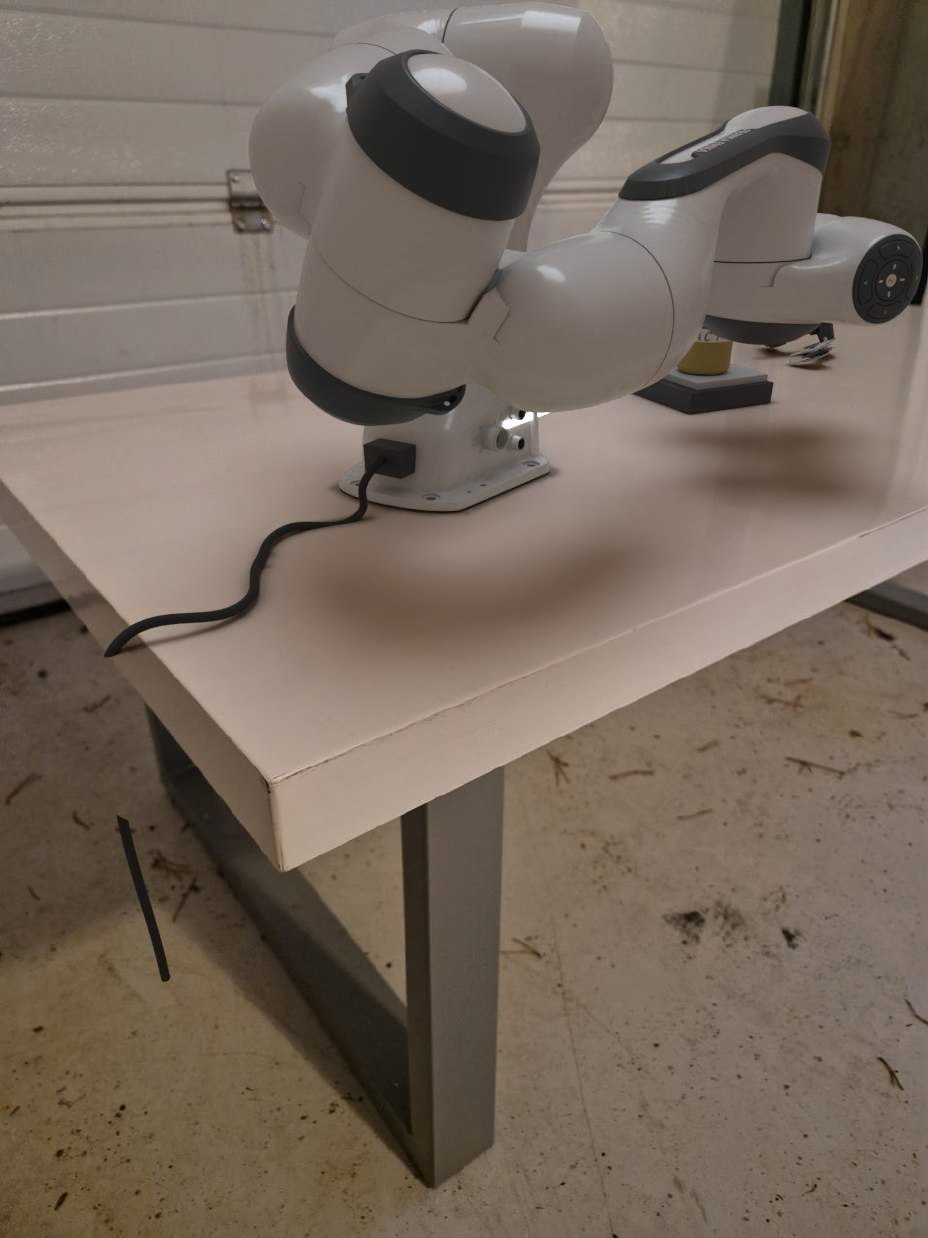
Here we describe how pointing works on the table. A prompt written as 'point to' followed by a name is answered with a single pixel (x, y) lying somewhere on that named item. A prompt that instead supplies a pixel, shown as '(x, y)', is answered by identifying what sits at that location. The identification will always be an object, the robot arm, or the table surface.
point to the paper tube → (707, 355)
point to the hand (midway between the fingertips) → (744, 249)
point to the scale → (710, 390)
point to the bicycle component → (817, 349)
